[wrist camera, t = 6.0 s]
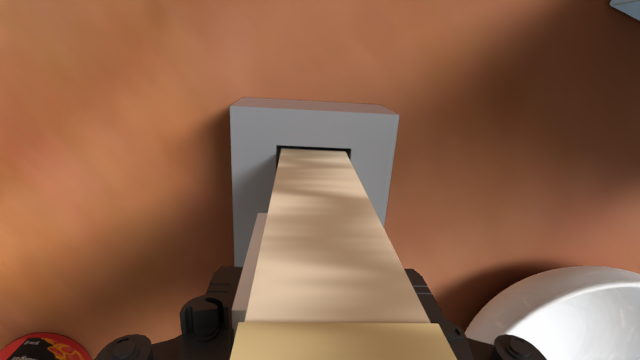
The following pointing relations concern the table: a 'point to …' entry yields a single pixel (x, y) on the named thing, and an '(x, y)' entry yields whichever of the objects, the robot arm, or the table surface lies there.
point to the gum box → (628, 7)
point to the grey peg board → (308, 134)
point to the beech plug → (330, 275)
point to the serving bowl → (568, 314)
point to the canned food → (44, 348)
